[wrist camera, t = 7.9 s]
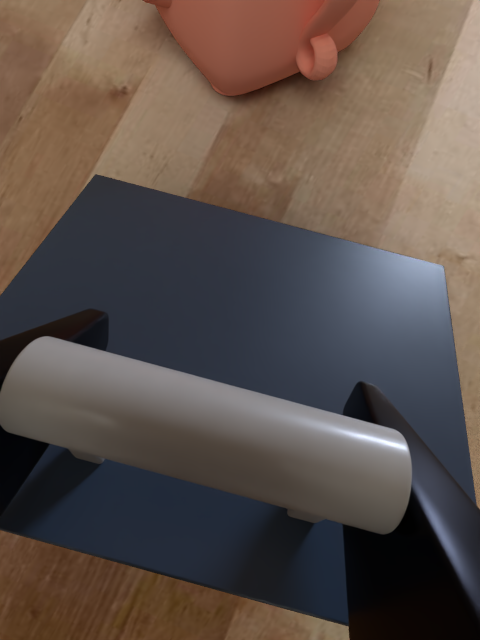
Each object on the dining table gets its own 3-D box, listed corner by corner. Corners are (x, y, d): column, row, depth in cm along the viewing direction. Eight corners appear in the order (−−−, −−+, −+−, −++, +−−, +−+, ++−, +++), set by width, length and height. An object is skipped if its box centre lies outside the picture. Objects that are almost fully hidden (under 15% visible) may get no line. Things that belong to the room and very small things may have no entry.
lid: (474, 661, 8) (753, 740, 4) (-127, 494, 8) (-398, 419, 4) (432, 279, 15) (525, 170, 11) (98, 191, 15) (71, 52, 11)
